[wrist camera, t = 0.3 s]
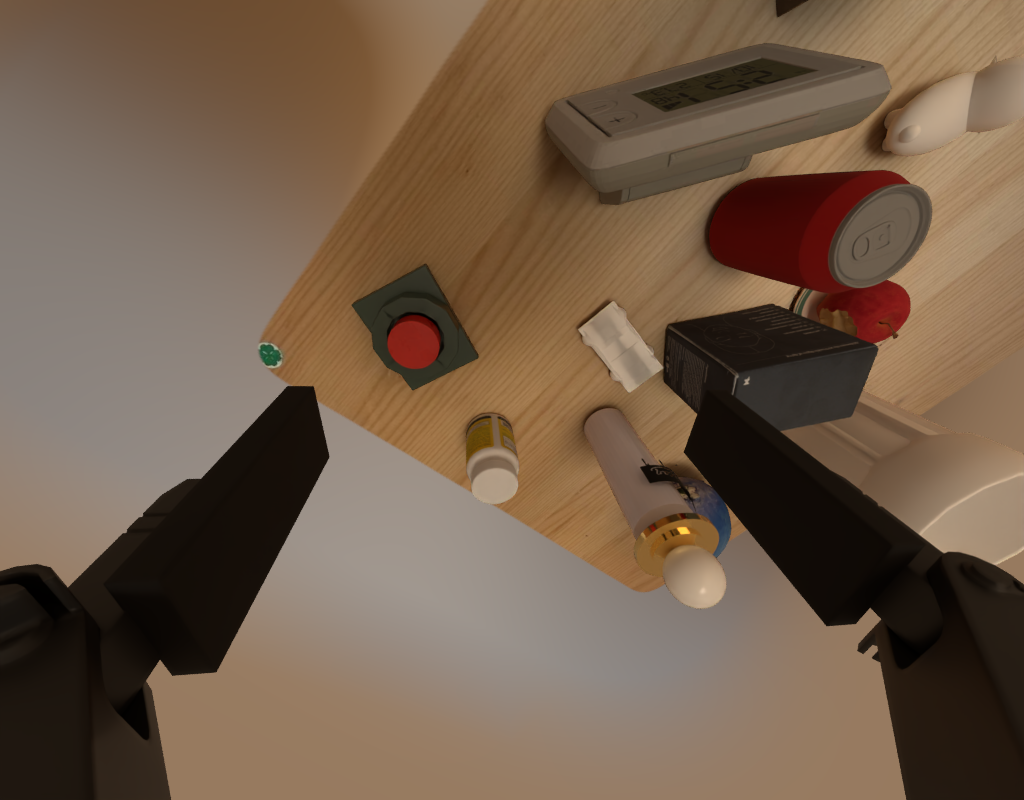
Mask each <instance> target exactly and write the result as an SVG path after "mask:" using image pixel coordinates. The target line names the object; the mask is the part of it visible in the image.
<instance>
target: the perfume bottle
mask: <svg viewBox="0 0 1024 800" xmlns="http://www.w3.org/2000/svg"><path fill="white" fill-rule="evenodd" d="M584 434H585V437H586V439H587V441H588V443H589V445H590V447H591V449H592V451H593V453H594V455H595V457H596V459H597V461H598V463H599V465H600V467H601V469H602V471H603V473H604V476H605V478H606V480H607V482H608V484H609V486H610V488H611V490H612V492H613V494H614V496H615V498H616V500H617V502H618V504H619V506H620V508H621V510H622V513H623V515H624V517H625V519H626V521H627V523H628V525H629V527H630V529H631V531H632V533H633V535H634V537H635V539H636V542H635V545H634V556H635V559H636V561H637V563H638V566H639V567H640V568H641V570H643V571H644V572H645V573H647V574H650V575H653V576H657V577H663V578H664V582H665V584H666V587H667V588H668V590H669V591H670V593H671V594H672V595H673V596H674V597H675V598H676V599H677V600H678V601H680V602H681V603H682V604H685V605H687V606H689V607H692V608H697V609H705V608H710V607H712V606H714V605H715V604H717V603H718V602H719V601H720V600H721V599H722V598H723V595H724V593H725V590H726V575H725V572H724V569H723V568H722V566H721V564H720V562H719V561H718V560H717V559H716V557H715V556H714V555H713V553H714V552H715V550H716V548H717V546H718V543H719V533H718V531H717V529H716V528H715V526H714V525H713V524H712V522H711V521H710V520H709V519H708V518H706V517H705V516H703V515H700V514H697V513H693V511H692V510H691V509H690V507H689V506H688V504H687V503H686V501H685V500H684V499H683V497H682V496H681V494H680V493H679V492H678V490H677V489H676V487H675V486H674V485H673V483H672V482H675V483H678V484H679V485H680V487H681V488H682V490H683V491H684V492H685V494H686V495H687V496H688V498H689V499H690V501H692V499H691V496H690V495H691V494H689V491H688V490H687V489H686V487H685V486H684V485H683V483H682V482H681V481H680V479H679V478H678V477H677V475H676V474H675V473H674V472H673V471H672V470H671V469H669V468H667V467H664V465H663V464H662V462H661V461H660V460H659V461H660V463H661V464H662V465H663V466H661V465H659V464H658V462H657V461H656V459H655V458H654V456H653V455H652V454H651V452H650V451H649V449H648V448H647V447H646V445H645V444H644V442H643V441H642V440H641V438H640V437H639V435H638V434H637V433H636V431H635V430H634V428H633V427H632V426H631V424H630V423H629V421H628V420H627V418H626V417H625V416H624V414H623V413H622V412H620V411H619V410H616V409H612V408H606V409H601V410H599V411H597V412H595V413H593V414H592V415H591V416H590V417H589V418H588V420H587V421H586V423H585V426H584ZM661 467H663V468H661ZM665 468H666V469H665ZM665 471H667V472H668V473H667V472H665ZM671 471H672V472H671ZM669 472H670V473H669ZM671 473H672V474H673V476H672V474H671ZM674 475H675V476H676V477H677V478H676V477H675V476H674ZM693 500H694V499H693ZM694 502H695V501H694ZM692 503H693V501H692ZM695 504H696V503H695ZM693 506H694V503H693ZM696 506H697V505H696ZM694 509H695V506H694ZM695 511H696V510H695Z"/></svg>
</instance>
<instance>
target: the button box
mask: <svg viewBox="0 0 1024 800" xmlns="http://www.w3.org/2000/svg"><path fill="white" fill-rule="evenodd" d="M352 307H353V308H354V309H355V311H356V312H357V314H358V315H359V316H360V318H361V319H362V321H363V322H364V323H365V325H366V326H367V328H368V329H369V330H370V332H371V333H372V342H373V349H374V350H375V352H376V353H377V354H378V356H379V357H380V359H381V360H382V361H383V363H384V364H385V365H386V367H387V368H389V369H391V370H393V371H395V372H397V373H399V374H401V375H402V376H403V378H404V379H405V381H406V382H407V383H408V385H409V386H410V388H411V389H412V390H415V389H417V388H419V387H421V386H423V385H425V384H427V383H429V382H431V381H433V380H435V379H437V378H439V377H441V376H443V375H445V374H447V373H449V372H451V371H453V370H455V369H457V368H459V367H461V366H463V365H465V364H467V363H469V362H471V361H473V360H475V359H477V358H478V353H477V352H476V350H475V348H474V346H473V345H472V343H471V341H470V339H469V338H468V336H467V334H466V332H465V331H464V329H463V327H462V325H461V324H460V322H459V320H458V319H457V317H456V315H455V313H454V312H453V310H452V308H451V306H450V305H449V303H448V301H447V299H446V298H445V296H444V294H443V292H442V291H441V289H440V287H439V285H438V284H437V282H436V280H435V278H434V277H433V275H432V273H431V271H430V270H429V268H428V266H427V264H424V265H422V266H421V267H419V268H417V269H415V270H413V271H411V272H410V273H408V274H406V275H404V276H402V277H400V278H398V279H397V280H395V281H393V282H391V283H389V284H387V285H386V286H384V287H382V288H380V289H378V290H376V291H374V292H373V293H371V294H369V295H367V296H365V297H363V298H362V299H360V300H358V301H356V302H354V303H353V304H352ZM408 315H419V316H423V317H425V318H427V319H429V320H431V321H432V322H433V323H434V324H435V325H436V327H437V328H438V330H439V333H440V337H441V343H440V349H439V353H438V356H437V358H436V359H435V361H434V362H433V363H432V364H430V365H429V366H427V367H424V368H420V369H411V368H407V367H404V366H402V365H400V364H399V363H397V362H396V361H395V360H394V359H393V357H392V356H391V354H390V352H389V350H388V345H387V341H388V336H389V334H390V332H391V330H392V328H393V326H394V325H395V323H396V322H397V321H398V320H399V319H401V318H403V317H405V316H408Z"/></svg>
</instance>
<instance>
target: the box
mask: <svg viewBox="0 0 1024 800" xmlns="http://www.w3.org/2000/svg"><path fill="white" fill-rule="evenodd" d="M877 352H878V348H877V346H876V345H875V344H872V343H870V342H867V341H865V340H862V339H859V338H857V337H854V336H852V335H850V334H847V333H845V332H842V331H839V330H837V329H834V328H832V327H829V326H826V325H824V324H821V323H819V322H816V321H813V320H811V319H808V318H806V317H803V316H801V315H799V314H797V313H794V312H792V311H789V310H787V309H785V308H782V307H780V306H775V304H770V305H766V306H761V307H756V308H752V309H747V310H743V311H738V312H733V313H728V314H722V315H717V316H711V317H707V318H701V319H696V320H691V321H686V322H681V323H676V324H670V325H669V326H668V328H667V337H666V349H665V368H664V382H665V383H666V384H667V385H668V386H669V387H670V388H671V389H672V390H673V391H674V392H675V393H676V394H677V395H678V396H679V397H680V398H681V399H682V400H683V401H684V402H685V403H686V404H688V406H690V407H691V409H693V410H694V412H696V413H697V414H698V411H699V408H700V405H701V403H702V400H703V397H704V394H705V392H706V390H727V391H728V392H730V393H731V394H732V395H734V396H735V397H736V398H738V399H739V400H740V401H741V402H743V403H744V404H745V405H747V406H748V407H749V408H750V409H752V410H753V411H754V412H756V413H757V414H758V415H760V416H761V417H762V418H763V419H765V420H766V421H767V422H769V423H770V424H771V425H773V426H774V427H775V428H776V429H778V430H779V431H784V430H789V429H794V428H799V427H804V426H809V425H814V424H819V423H824V422H829V421H834V420H839V419H844V418H849V417H851V416H852V415H853V413H854V410H855V408H856V405H857V403H858V400H859V398H860V395H861V393H862V389H863V387H864V385H865V383H866V380H867V378H868V375H869V372H870V370H871V367H872V365H873V362H874V360H875V357H876V356H877Z"/></svg>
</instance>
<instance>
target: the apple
mask: <svg viewBox="0 0 1024 800" xmlns="http://www.w3.org/2000/svg"><path fill="white" fill-rule="evenodd" d="M793 312H794V313H797V314H799V315H801V316H803V317H806V318H808V319H811V320H813V321H816V322H819V323H821V324H824V325H826V326H829V327H832V328H834V329H837V330H839V331H842V332H845V333H847V334H850V335H852V336H854V337H857V338H859V339H862V340H865V341H867V342H870V343H872V344H873V343H877V342H880V341H883V340H885V339H887V338H888V337H890V336H892V335H893V339H895V338H897V336H898V334H897V333H896V332H897V331H898V330H899V329H900V328H901V326H902V325H903V324H904V323H905V321H906V320H907V318H908V316H909V313H910V298H909V295H908V294H907V292H906V290H905V289H904V288H903V287H901V286H900V285H898V284H896V283H893V282H891V281H889V280H885V281H883V282H881V283H879V284H876V285H874V286H870V287H866V288H855V289H851V290H848V291H844V292H840V293H822V292H818V291H814V290H810V289H806V288H804V289H803V291H802V292H801V294H800V296H799V297H798V299H797V301H796V304H795V306H794V309H793Z"/></svg>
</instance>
